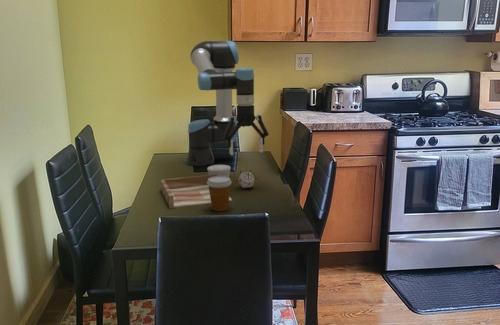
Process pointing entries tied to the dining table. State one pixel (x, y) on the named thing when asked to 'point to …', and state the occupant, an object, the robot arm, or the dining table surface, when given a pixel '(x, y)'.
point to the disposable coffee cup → (219, 192)
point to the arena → (187, 191)
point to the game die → (246, 179)
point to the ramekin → (219, 170)
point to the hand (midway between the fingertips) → (246, 153)
